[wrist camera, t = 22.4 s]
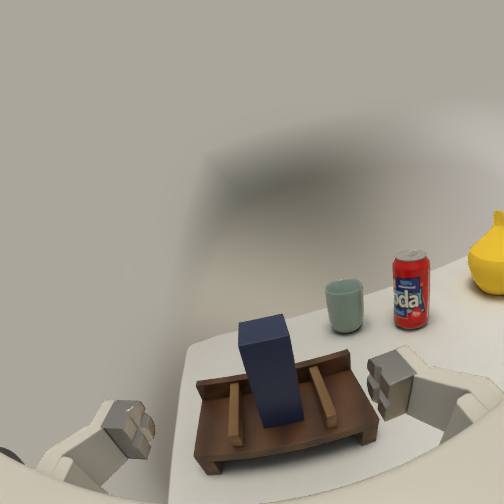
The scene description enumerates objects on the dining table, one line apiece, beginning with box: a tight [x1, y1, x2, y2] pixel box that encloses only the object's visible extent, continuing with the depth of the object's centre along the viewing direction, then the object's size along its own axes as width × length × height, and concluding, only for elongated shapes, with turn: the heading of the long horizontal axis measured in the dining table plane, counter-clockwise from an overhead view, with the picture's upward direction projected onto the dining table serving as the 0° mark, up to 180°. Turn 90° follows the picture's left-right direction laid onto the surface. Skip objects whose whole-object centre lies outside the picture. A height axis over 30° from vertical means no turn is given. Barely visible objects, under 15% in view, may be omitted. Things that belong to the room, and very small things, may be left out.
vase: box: [468, 211, 504, 295], centre depth 44 cm, size 18×18×19 cm
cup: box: [325, 279, 364, 333], centre depth 53 cm, size 8×8×10 cm
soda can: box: [393, 250, 430, 329], centre depth 47 cm, size 8×8×15 cm
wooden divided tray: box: [194, 349, 379, 475], centre depth 30 cm, size 22×12×8 cm, turn 92°
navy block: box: [238, 314, 305, 429], centre depth 29 cm, size 5×5×13 cm
